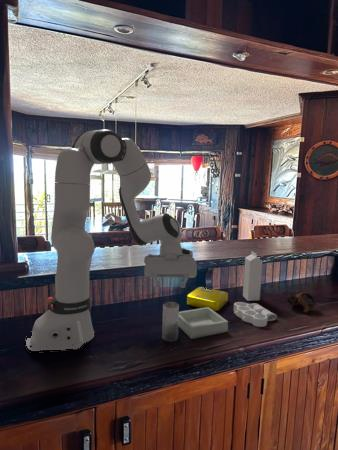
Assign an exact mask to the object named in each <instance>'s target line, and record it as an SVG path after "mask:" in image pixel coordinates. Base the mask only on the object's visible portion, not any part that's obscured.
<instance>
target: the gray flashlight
mask: <svg viewBox="0 0 338 450" xmlns="http://www.w3.org/2000/svg"><path fill="white" fill-rule="evenodd" d="M179 308H180V304H179V303H177V302H176V301H166V302H164V303H163V304H162V328H161V329H162V332H161V333H162V335H161V339H163V341H164V342H170V343H172V342H176V341H178V338H179V326H178V320H179V312H180V311H179V310H180V309H179Z"/></svg>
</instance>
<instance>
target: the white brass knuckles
mask: <svg viewBox="0 0 338 450" xmlns="http://www.w3.org/2000/svg"><path fill="white" fill-rule="evenodd" d="M233 314H234V315H235V316H237V317H238V318H239V319H241V320H242V321H243V322H245V323H249V324H252V325H253V326H254V327H258V328H262V327H266V326H267V325H268V322H272V321H275V320H277V318H278V315H277V314H276V313H273V312H271V311H270V310H269V309H267V308H265V307H263V306H262V305H260V304H259V303H254V302H253V303H247V302H245V301H243V302H242V301H237V302H234V303H233Z"/></svg>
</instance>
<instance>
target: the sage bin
mask: <svg viewBox="0 0 338 450" xmlns="http://www.w3.org/2000/svg"><path fill="white" fill-rule="evenodd" d="M178 328H179V329H180V330H181V331H182V332H184V334H186V335H187V337H189V339H191V340H192V339H193V340H194V339H197V338H203V337H208V336H213V335H219V334H223V333H228V330H229V329H228V328H229V321H228V320H227V319H225V318H224V317H222V316H221V315H220V314H219V313H217V312H216V311H213V310H212V309H210V308H209V307H206V308H200V307H199V308H195V309H189V310H182V311H179V320H178Z"/></svg>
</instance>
